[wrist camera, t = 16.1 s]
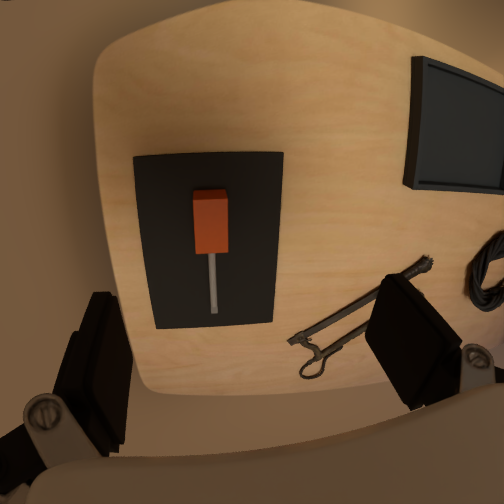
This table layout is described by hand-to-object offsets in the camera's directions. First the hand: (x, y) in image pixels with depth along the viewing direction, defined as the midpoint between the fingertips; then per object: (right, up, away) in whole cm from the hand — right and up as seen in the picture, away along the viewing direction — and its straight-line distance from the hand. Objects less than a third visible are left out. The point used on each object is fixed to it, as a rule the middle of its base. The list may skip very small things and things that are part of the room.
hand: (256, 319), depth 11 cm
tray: (+26, +17, +20) cm, 37 cm away
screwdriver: (-4, +2, +22) cm, 22 cm away
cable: (+41, 0, +31) cm, 52 cm away
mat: (-4, +2, +22) cm, 22 cm away
